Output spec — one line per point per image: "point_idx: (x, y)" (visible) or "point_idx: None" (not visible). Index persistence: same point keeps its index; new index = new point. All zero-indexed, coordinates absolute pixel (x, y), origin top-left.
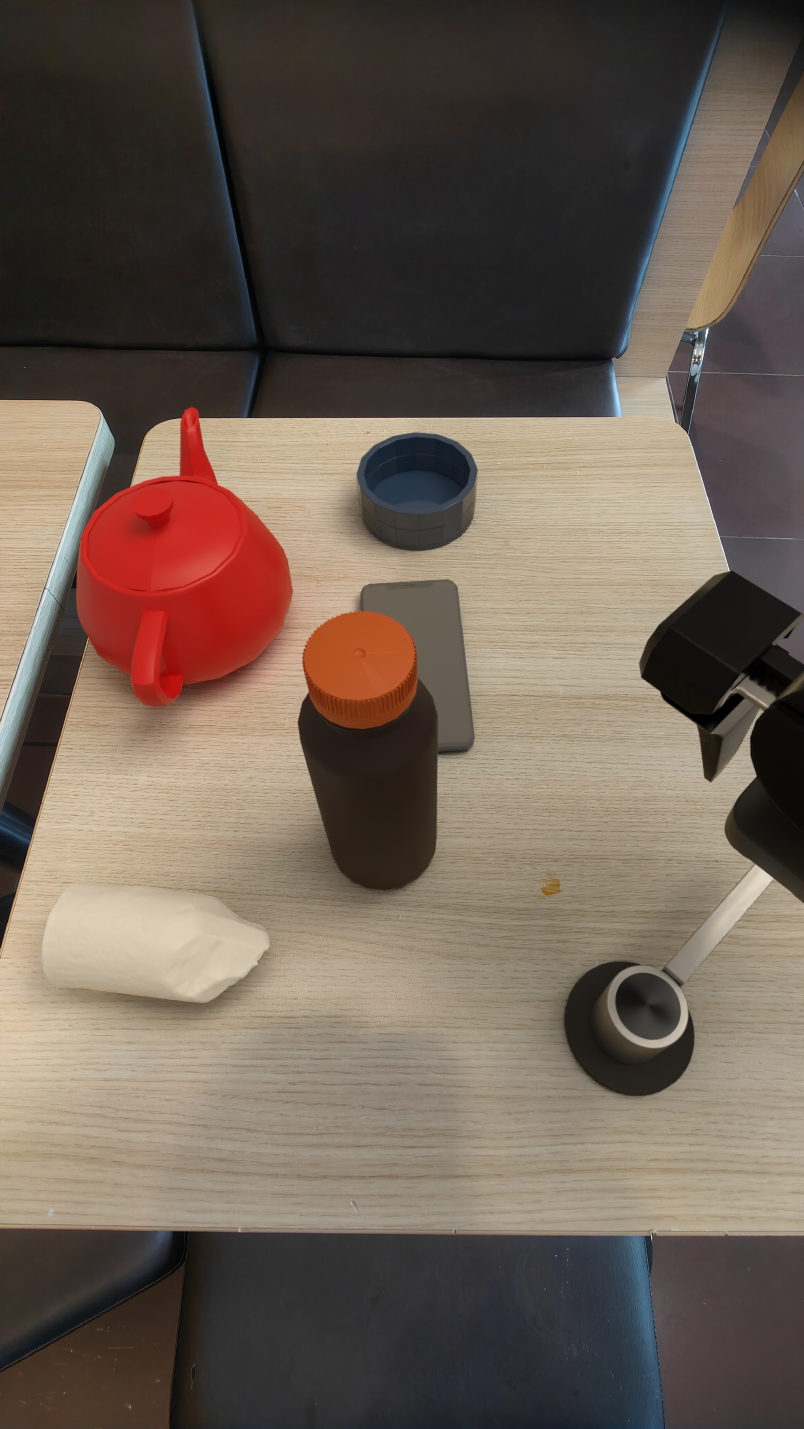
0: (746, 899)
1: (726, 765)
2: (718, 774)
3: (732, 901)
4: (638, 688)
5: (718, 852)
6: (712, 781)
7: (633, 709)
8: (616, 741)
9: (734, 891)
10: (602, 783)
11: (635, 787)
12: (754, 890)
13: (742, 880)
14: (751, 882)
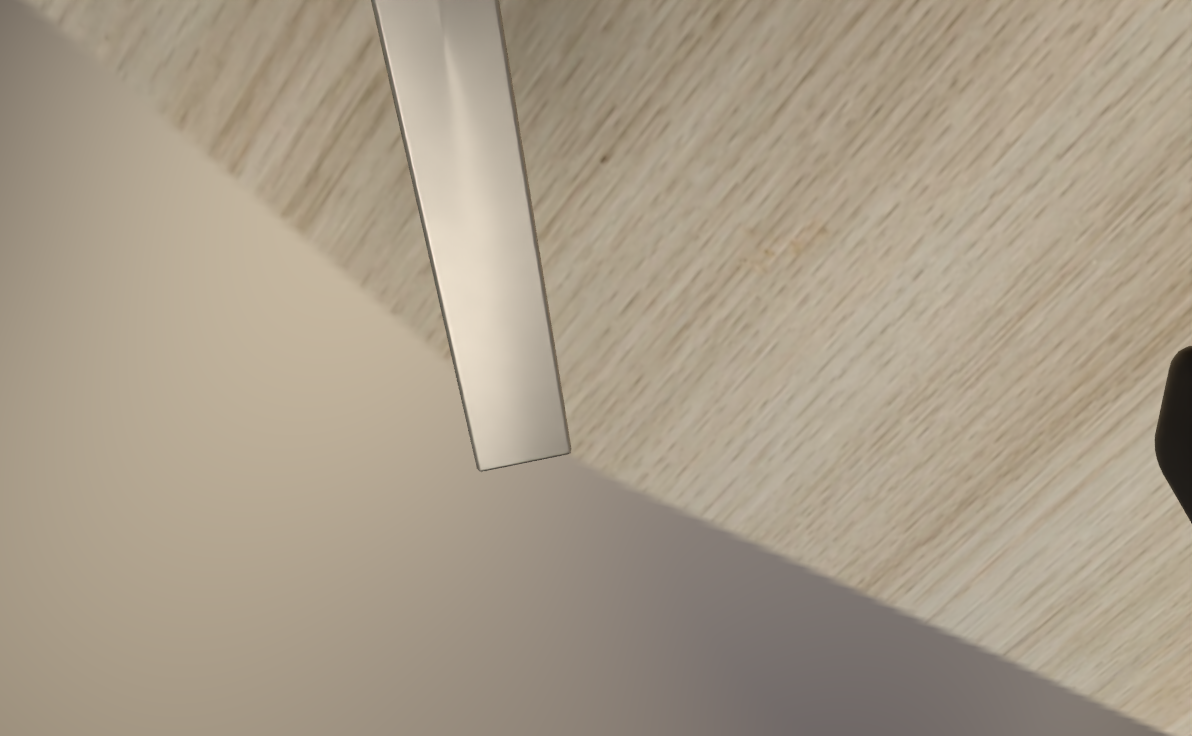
0: (426, 72)
1: (1189, 506)
2: (1184, 426)
3: (458, 3)
4: None
5: (622, 188)
6: (1179, 363)
7: (1151, 309)
8: (1135, 184)
9: (492, 52)
10: (1087, 25)
11: (984, 117)
12: (439, 140)
13: (511, 130)
14: (478, 158)
